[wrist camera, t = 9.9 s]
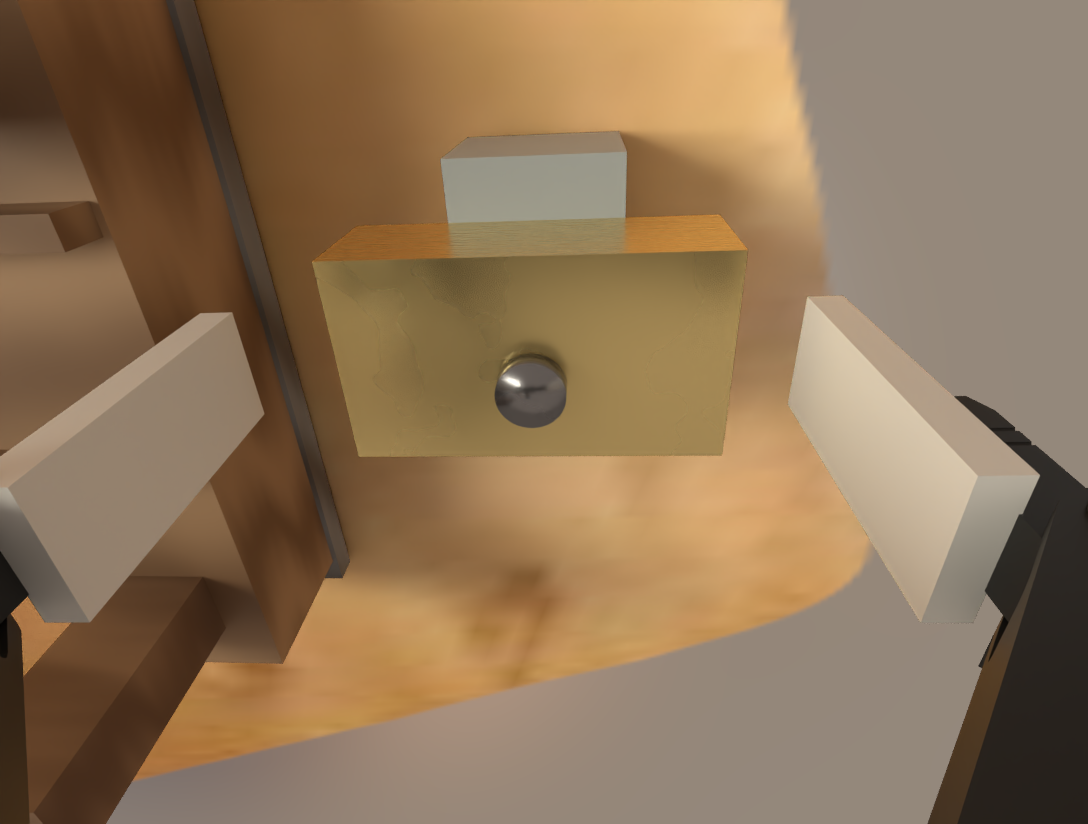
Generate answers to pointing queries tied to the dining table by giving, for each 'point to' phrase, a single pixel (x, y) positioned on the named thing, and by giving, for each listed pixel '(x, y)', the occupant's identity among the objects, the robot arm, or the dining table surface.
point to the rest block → (536, 177)
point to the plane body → (120, 338)
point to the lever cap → (536, 335)
